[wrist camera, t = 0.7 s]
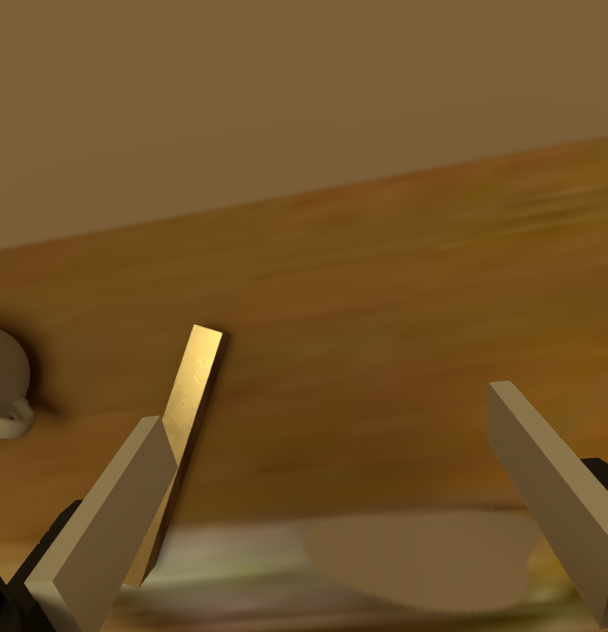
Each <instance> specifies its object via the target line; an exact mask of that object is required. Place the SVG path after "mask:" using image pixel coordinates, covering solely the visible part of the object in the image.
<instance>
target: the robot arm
mask: <svg viewBox="0 0 608 632" xmlns="http://www.w3.org/2000/svg"><path fill="white" fill-rule="evenodd" d="M487 442H488V444H489V445H490V447H491V449H492V450H493V452H494V454H495V455H496V457H497V458H498V460H499V462H500V463H501V465H502V467H503V468H504V470H505V472H506V473H507V475H508V477H509V478H510V480H511V482H512V483H513V485H514V487H515V488H516V490H517V492H518V493H519V495H520V496H521V498H522V500H523V501H524V503H525V505H526V506H527V508H528V510H529V511H530V513H531V515H532V516H533V518H534V520H535V521H536V523H537V525H538V526H539V528H540V530H541V531H542V533H543V535H544V536H545V538H546V539H547V541H548V543H549V544H550V546H551V548H552V549H553V551H554V553H555V554H556V556H557V558H558V559H559V561H560V563H561V564H562V566H563V568H564V569H565V571H566V573H567V574H568V576H569V578H570V579H571V581H572V582H573V584H574V586H575V587H576V589H577V591H578V592H579V594H580V596H581V597H582V599H583V601H584V602H585V604H586V606H587V607H588V609H589V611H590V612H591V614H592V616H593V617H594V619H595V620H596V622H597V624H598V625H599V627H600V628H608V464H607V463H606V462H604V461H603V460H601V459H599V458H587V459H579V458H578V457H577V456H576V455H575V454H574V452H573V451H572V450H571V449H570V448H569V447H568V446H567V445H566V443H565V442H564V441H563V440H562V439H561V438H560V437H559V435H558V434H557V433H556V432H555V431H554V430H553V429H552V428H551V426H550V425H549V424H548V423H547V422H546V421H545V420H544V419H543V417H542V416H541V415H540V414H539V413H538V412H537V411H536V409H535V408H534V407H533V406H532V405H531V404H530V403H529V402H528V400H527V399H526V398H525V397H524V396H523V395H522V394H521V393H520V391H519V390H518V389H517V388H516V387H515V386H514V385H513V384H512V382H511V381H501V382H491V383H489V395H488V423H487ZM177 469H178V466H177V463H176V460H175V457H174V454H173V451H172V448H171V446H170V443H169V440H168V437H167V434H166V431H165V428H164V425H163V423H162V420H161V417H160V416H153V417H143V418H142V419H141V420H140V422H139V423H138V425H137V426H136V427H135V429H134V430H133V432H132V433H131V434H130V436H129V437H128V439H127V440H126V441H125V443H124V444H123V446H122V447H121V448H120V450H119V451H118V453H117V454H116V455H115V457H114V458H113V459H112V461H111V462H110V464H109V465H108V466H107V468H106V469H105V471H104V472H103V473H102V475H101V476H100V478H99V479H98V480H97V482H96V483H95V485H94V486H93V487H92V489H91V490H90V492H89V493H88V494H87V496H86V497H85V499H84V500H76V501H75V502H73V503H72V504H71V505H70V506H69V507H68V508H67V509H65V510H64V511H63V512H62V513H61V514H60V515H59V516H58V518H57V519H56V520H55V522H54V523H53V524H52V526H51V527H50V528H49V532H46V534H45V535H44V536H43V538H42V539H41V540H40V544H37V546H36V547H35V548H34V550H33V551H32V552H31V553H30V555H29V556H28V557H27V559H26V560H25V561H24V563H23V564H22V565H21V567H20V568H19V569H18V571H17V572H16V573H15V575H14V576H13V577H12V579H11V580H10V581H9V583H8V584H7V585H6V584H5V583H4V581H3V580H2V578H1V577H0V632H99V631H100V629H101V627H102V625H103V623H104V621H105V619H106V617H107V615H108V613H109V611H110V608H111V606H112V604H113V602H114V600H115V598H116V596H117V594H118V592H119V590H120V588H121V586H122V583H123V581H124V579H125V577H126V575H127V573H128V571H129V569H130V567H131V565H132V563H133V561H134V558H135V556H136V554H137V552H138V550H139V548H140V546H141V544H142V542H143V540H144V538H145V535H146V533H147V531H148V529H149V527H150V525H151V523H152V521H153V519H154V517H155V515H156V513H157V510H158V508H159V506H160V504H161V502H162V500H163V498H164V496H165V494H166V492H167V490H168V487H169V485H170V483H171V481H172V479H173V477H174V475H175V473H176V471H177Z"/></svg>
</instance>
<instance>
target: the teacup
mask: <svg viewBox="0 0 608 632" xmlns="http://www.w3.org/2000/svg"><path fill="white" fill-rule="evenodd" d="M29 382H30V366H29V362H28V358H27V356H26V354H25V351H24V350H23V348H22V347H21V345H20V344H19V343H18V342H17V341H16V340H15V339H14V338H13V337H12V336H11V335H9V334H8V333H6V332H5V331H3V330H1V329H0V439H16V438H20V437H23V436H24V435H26V434H27V433H28V432H29V431H30V430H31V428H32V426H33V424H34V422H35V414H34V412H33V410H32V409H31V408H30V407H29V402H28V400H27V399H25V396H26V394H27V390H28V387H29ZM11 417H13V418H14V419H15V420H13V419H10V418H11Z"/></svg>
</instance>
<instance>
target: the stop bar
mask: <svg viewBox="0 0 608 632" xmlns="http://www.w3.org/2000/svg"><path fill="white" fill-rule="evenodd" d="M229 336H230V334H227V333H223V332H220V331H217V330H214V329H210V328H207V327H203V326H199V325H195V324H194V327H193V330H192V333H191V336H190V339H189V342H188V345H187V348H186V351H185V354H184V357H183V360H182V363H181V366H180V369H179V372H178V375H177V378H176V381H175V384H174V387H173V390H172V393H171V396H170V399H169V402H168V405H167V408H166V411H165V414H164V417H163V420H162V423H163V425H164V428H165V431H166V434H167V437H168V440H169V443H170V446H171V448H172V451H173V454H174V457H175V460H176V463H177V466H178V469H177V471H176V473H175V475H174V477H173V479H172V481H171V483H170V485H169V487H168V490H167V492H166V494H165V496H164V498H163V500H162V502H161V504H160V506H159V508H158V510H157V513H156V515H155V517H154V519H153V521H152V523H151V525H150V527H149V529H148V531H147V533H146V535H145V538H144V540H143V542H142V544H141V546H140V548H139V550H138V552H137V554H136V556H135V558H134V561H133V563H132V565H131V567H130V569H129V571H128V573H127V575H126V577H125V579H124V581H123V583H124V584H127V585H130V586H133V587H136V588H140V587H141V584H142V583H143V581H144V580H145V579H146V577H147V576H148V575H149V573H150V572H151V570H152V569H153V568H154V566H155V564H156V561H157V558H158V555H159V552H160V549H161V546H162V543H163V540H164V536H165V533H166V530H167V527H168V524H169V521H170V518H171V515H172V512H173V509H174V506H175V503H176V499H177V496H178V493H179V490H180V487H181V484H182V481H183V478H184V475H185V472H186V469H187V466H188V462H189V459H190V456H191V453H192V450H193V447H194V444H195V441H196V438H197V435H198V432H199V429H200V425H201V422H202V419H203V416H204V413H205V410H206V407H207V404H208V401H209V398H210V395H211V392H212V388H213V385H214V382H215V379H216V376H217V373H218V370H219V367H220V364H221V361H222V358H223V355H224V351H225V348H226V345H227V342H228V339H229Z"/></svg>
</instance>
